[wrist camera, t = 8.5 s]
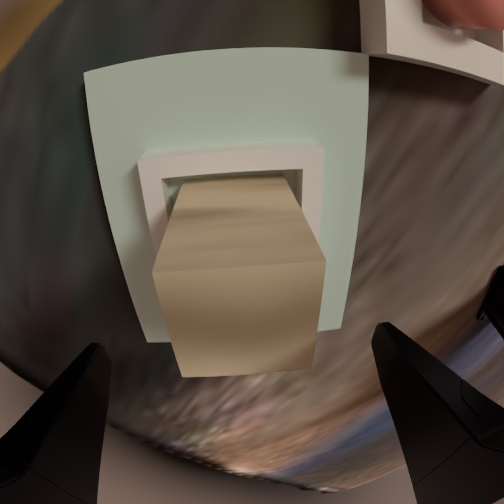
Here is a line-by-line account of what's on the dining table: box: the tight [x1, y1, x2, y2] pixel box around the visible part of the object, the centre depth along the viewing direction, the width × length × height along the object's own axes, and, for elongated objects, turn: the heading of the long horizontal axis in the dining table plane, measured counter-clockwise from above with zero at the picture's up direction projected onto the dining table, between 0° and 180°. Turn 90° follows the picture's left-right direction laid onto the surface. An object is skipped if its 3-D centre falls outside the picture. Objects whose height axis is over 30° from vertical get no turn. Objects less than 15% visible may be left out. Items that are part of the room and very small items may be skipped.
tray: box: [84, 48, 369, 342], centre depth 17 cm, size 18×14×2 cm
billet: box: [152, 174, 326, 377], centre depth 14 cm, size 5×5×8 cm
